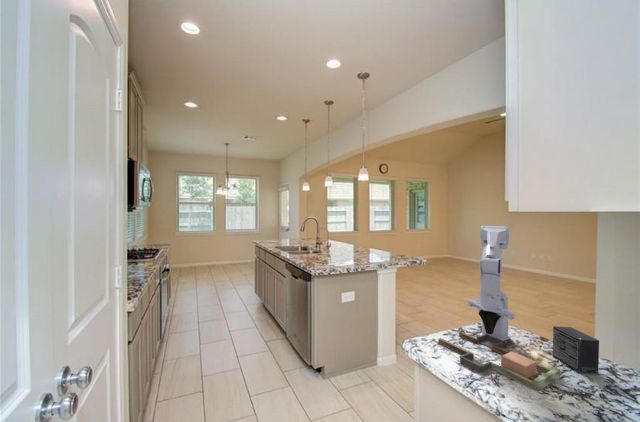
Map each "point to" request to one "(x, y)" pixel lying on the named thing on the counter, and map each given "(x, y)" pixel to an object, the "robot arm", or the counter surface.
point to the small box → (576, 349)
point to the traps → (477, 365)
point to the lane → (536, 384)
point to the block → (519, 364)
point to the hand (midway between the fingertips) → (489, 333)
